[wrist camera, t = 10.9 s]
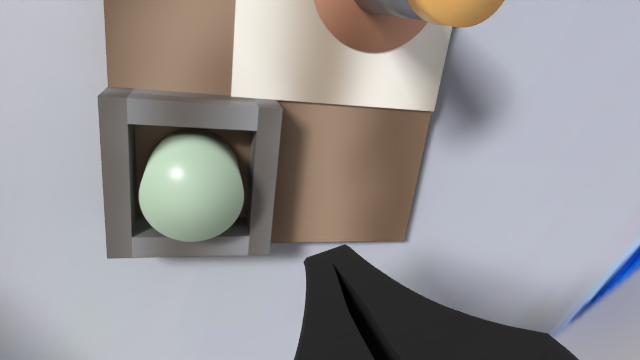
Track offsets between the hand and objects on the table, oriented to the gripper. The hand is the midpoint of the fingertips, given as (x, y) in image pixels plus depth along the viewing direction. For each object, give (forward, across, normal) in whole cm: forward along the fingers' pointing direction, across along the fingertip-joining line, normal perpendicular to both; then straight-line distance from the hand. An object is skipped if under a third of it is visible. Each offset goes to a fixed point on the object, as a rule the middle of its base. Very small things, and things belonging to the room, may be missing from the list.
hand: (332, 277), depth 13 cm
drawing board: (+10, -2, -6) cm, 12 cm away
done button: (+9, +4, -1) cm, 10 cm away
